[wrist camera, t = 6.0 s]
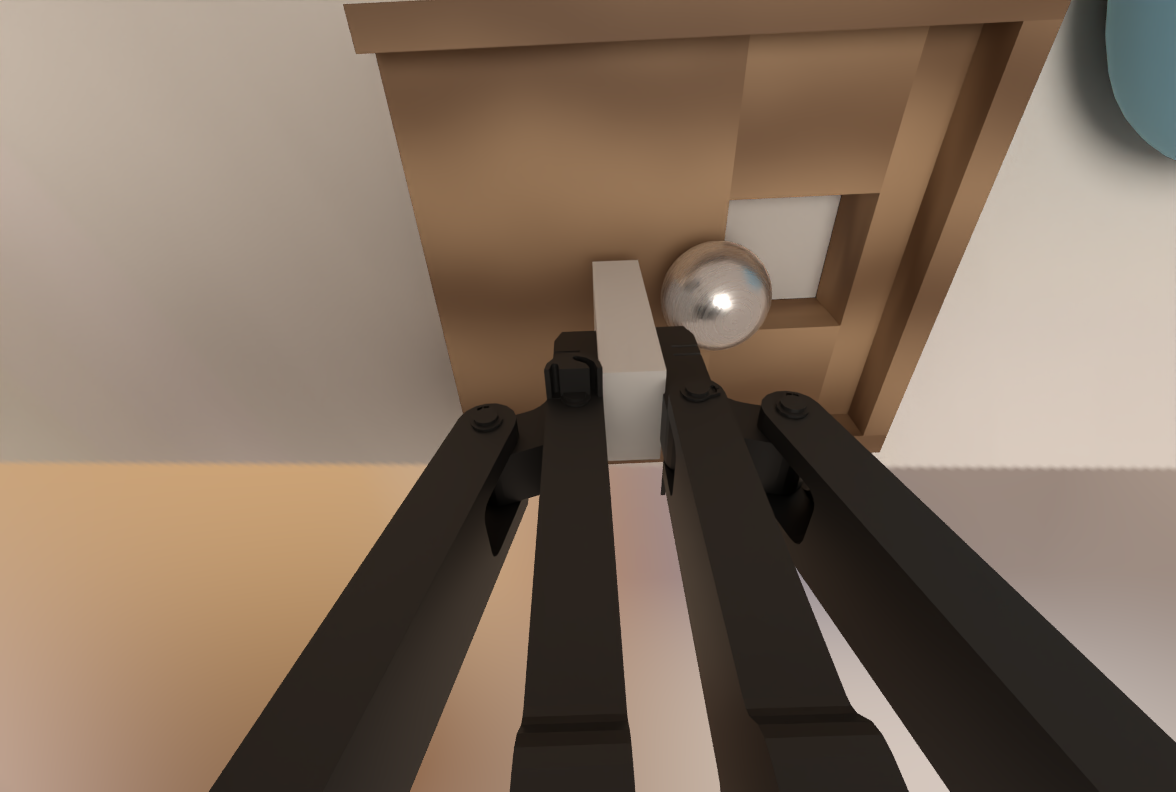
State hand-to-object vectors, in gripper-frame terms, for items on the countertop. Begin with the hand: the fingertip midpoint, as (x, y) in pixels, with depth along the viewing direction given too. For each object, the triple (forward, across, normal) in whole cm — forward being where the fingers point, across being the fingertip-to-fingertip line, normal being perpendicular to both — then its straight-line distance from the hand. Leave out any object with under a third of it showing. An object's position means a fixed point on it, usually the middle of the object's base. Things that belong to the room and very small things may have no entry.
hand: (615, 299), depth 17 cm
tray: (+4, +2, 0) cm, 5 cm away
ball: (-2, +4, 0) cm, 4 cm away
